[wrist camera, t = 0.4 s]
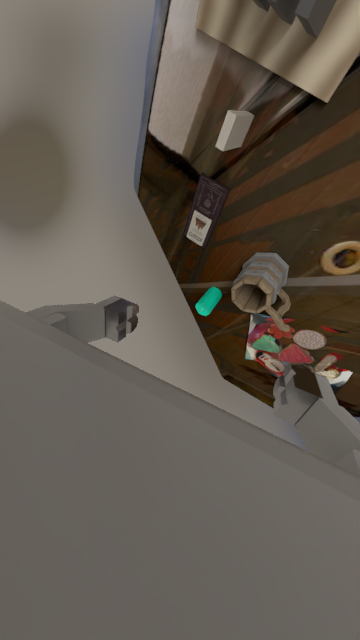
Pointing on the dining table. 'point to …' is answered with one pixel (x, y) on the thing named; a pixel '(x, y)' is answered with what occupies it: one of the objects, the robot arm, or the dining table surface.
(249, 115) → the domino
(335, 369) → the platter
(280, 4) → the domino
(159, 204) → the dining table surface
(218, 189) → the chocolate bar
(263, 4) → the domino
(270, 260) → the tankard
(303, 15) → the domino
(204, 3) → the birch board
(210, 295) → the candle
